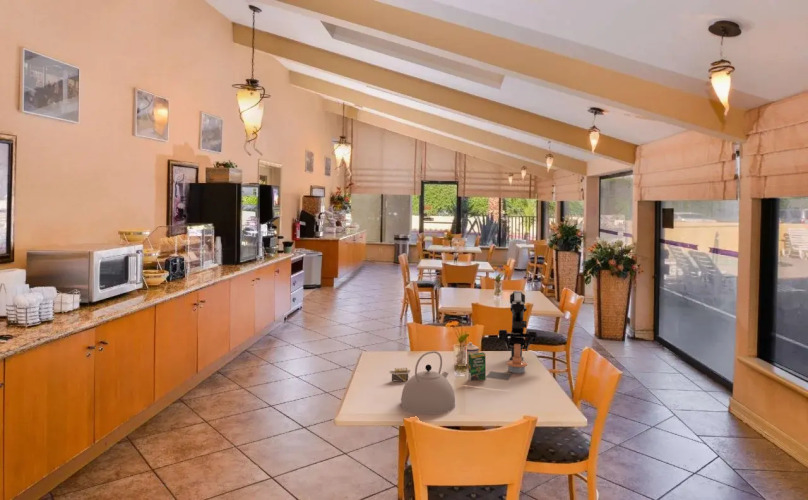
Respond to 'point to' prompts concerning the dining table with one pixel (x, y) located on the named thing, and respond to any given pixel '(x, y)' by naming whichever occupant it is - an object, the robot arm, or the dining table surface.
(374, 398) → the dining table surface
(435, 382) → the kettle
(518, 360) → the wooden peg stand
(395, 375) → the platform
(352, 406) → the dining table surface
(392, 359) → the dining table surface
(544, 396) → the dining table surface
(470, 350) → the teacup with lid
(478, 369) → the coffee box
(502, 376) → the mat
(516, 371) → the bowl
